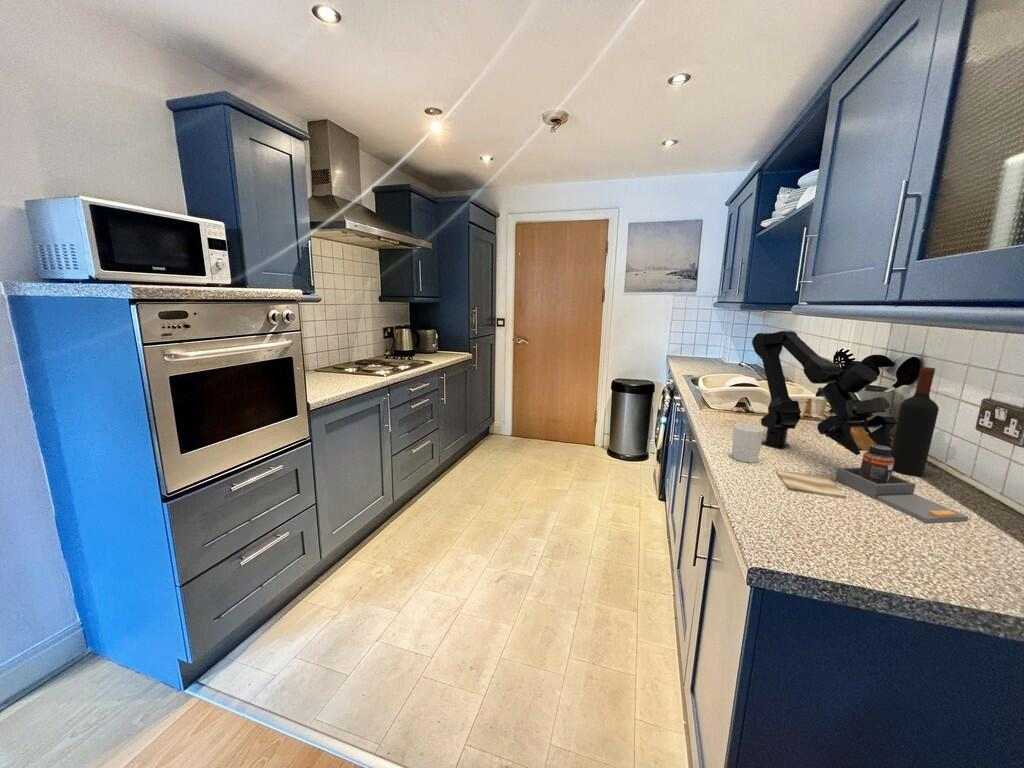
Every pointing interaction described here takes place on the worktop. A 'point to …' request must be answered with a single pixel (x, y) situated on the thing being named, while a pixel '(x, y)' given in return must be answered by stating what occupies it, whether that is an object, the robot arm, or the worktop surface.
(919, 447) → the wine bottle
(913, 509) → the case
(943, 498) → the worktop surface
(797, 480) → the board
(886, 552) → the worktop surface
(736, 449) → the white cup
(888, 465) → the supplement bottle
